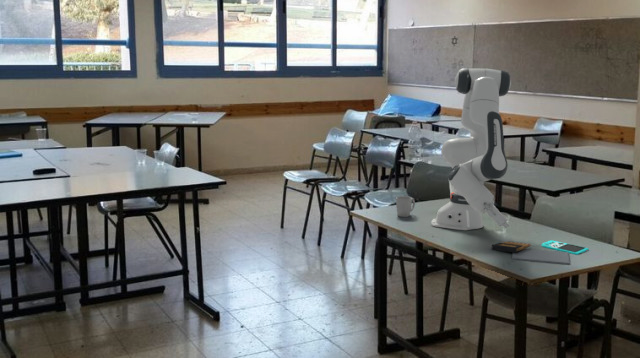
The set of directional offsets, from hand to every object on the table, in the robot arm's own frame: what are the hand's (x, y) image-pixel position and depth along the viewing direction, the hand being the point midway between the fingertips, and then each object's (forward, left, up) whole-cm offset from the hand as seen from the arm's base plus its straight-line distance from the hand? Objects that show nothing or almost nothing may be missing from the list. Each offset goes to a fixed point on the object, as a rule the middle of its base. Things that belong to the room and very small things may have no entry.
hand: (506, 226), depth 255 cm
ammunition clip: (-1, 0, -9) cm, 9 cm away
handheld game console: (+22, +14, -11) cm, 28 cm away
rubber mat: (+13, -1, -10) cm, 17 cm away
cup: (-47, +47, -11) cm, 68 cm away
